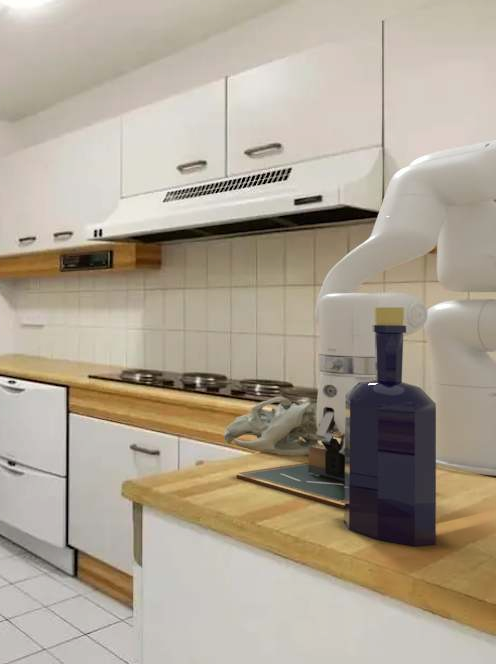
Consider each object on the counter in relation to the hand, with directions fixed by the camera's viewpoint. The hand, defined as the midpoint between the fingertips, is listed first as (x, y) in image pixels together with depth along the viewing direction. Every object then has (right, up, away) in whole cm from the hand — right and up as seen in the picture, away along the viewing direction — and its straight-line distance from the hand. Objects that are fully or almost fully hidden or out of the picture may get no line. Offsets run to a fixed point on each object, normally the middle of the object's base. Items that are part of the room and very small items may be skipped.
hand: (347, 473), depth 92 cm
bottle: (-11, -2, -19) cm, 22 cm away
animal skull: (+4, -2, +21) cm, 21 cm away
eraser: (0, -1, 0) cm, 1 cm away
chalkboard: (-3, -2, +1) cm, 3 cm away
